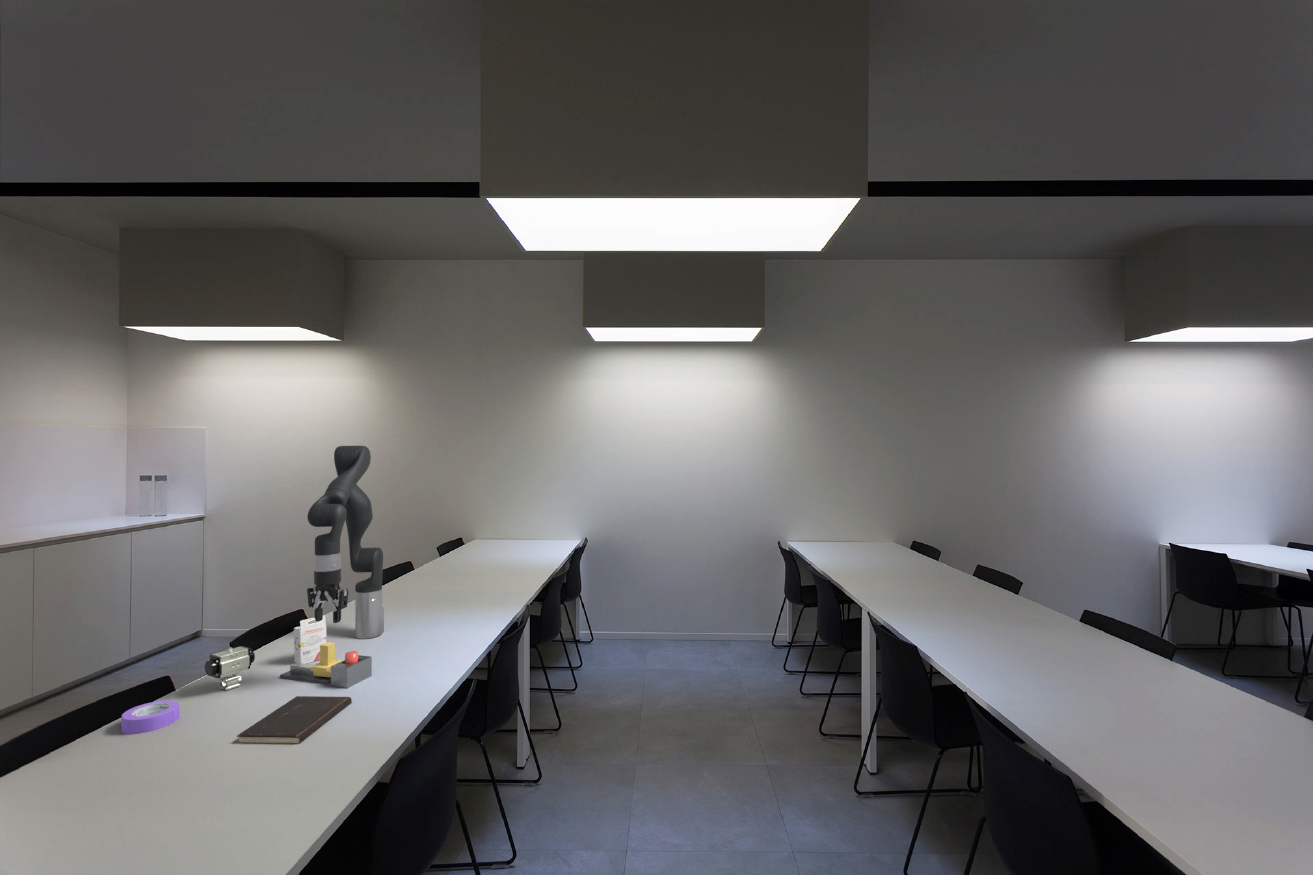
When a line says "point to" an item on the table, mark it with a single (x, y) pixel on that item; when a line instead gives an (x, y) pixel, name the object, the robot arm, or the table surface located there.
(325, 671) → the yellow flanged block
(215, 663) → the pneumatic valve
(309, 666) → the rail
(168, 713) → the masking tape
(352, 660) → the button
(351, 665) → the grey button housing
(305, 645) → the ink cartridge box
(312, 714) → the hardcover book
